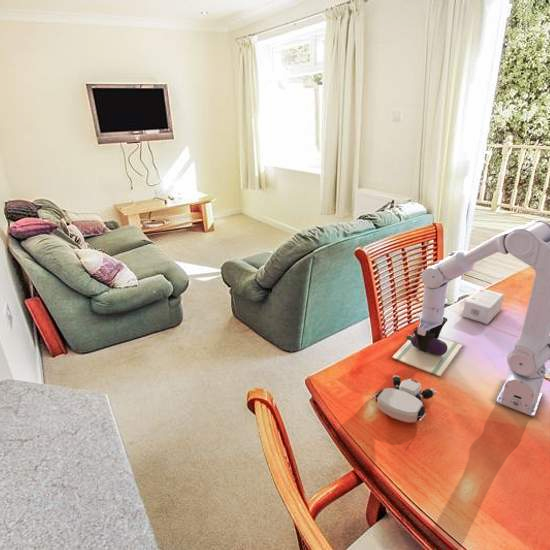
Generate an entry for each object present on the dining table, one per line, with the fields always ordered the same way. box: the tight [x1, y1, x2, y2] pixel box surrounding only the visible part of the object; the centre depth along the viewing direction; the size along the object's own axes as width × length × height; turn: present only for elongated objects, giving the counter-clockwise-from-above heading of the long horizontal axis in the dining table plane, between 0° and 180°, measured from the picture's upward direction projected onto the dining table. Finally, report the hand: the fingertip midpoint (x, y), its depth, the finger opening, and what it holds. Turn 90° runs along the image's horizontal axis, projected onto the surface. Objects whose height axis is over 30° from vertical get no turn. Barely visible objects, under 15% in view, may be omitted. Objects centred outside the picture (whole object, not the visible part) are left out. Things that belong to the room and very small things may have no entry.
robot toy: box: [369, 374, 437, 424], centre depth 92 cm, size 12×4×15 cm
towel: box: [391, 333, 463, 378], centre depth 112 cm, size 18×14×1 cm
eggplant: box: [405, 333, 447, 356], centre depth 112 cm, size 12×5×5 cm, turn 48°
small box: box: [462, 288, 505, 325], centre depth 129 cm, size 8×6×13 cm
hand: (428, 344), depth 111 cm, fingers open, 7 cm apart
